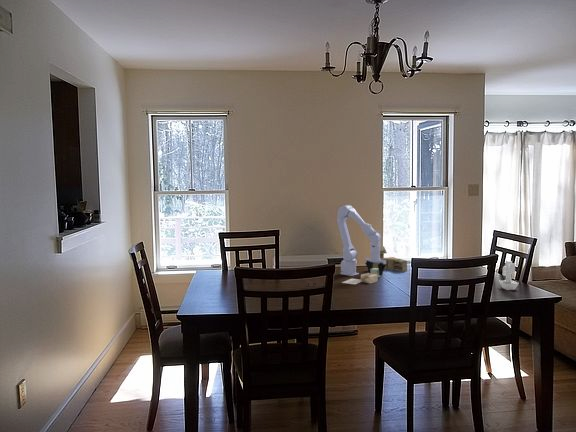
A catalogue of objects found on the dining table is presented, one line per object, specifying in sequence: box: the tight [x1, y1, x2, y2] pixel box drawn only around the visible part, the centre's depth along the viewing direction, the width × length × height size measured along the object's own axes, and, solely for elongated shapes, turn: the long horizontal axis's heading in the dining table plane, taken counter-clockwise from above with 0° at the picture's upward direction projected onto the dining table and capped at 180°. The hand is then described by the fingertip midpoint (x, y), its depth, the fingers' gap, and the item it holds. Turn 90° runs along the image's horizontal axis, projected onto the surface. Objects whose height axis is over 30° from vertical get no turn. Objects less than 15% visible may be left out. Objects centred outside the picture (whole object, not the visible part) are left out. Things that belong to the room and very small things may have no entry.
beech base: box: [360, 272, 379, 284], centre depth 265 cm, size 7×7×4 cm
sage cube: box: [370, 268, 382, 278], centre depth 278 cm, size 4×4×5 cm
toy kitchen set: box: [372, 245, 408, 273], centre depth 293 cm, size 18×17×15 cm
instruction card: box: [341, 278, 362, 285], centre depth 267 cm, size 9×12×1 cm
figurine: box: [498, 260, 519, 291], centre depth 239 cm, size 7×9×15 cm
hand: (375, 274), depth 278 cm, fingers open, 7 cm apart
